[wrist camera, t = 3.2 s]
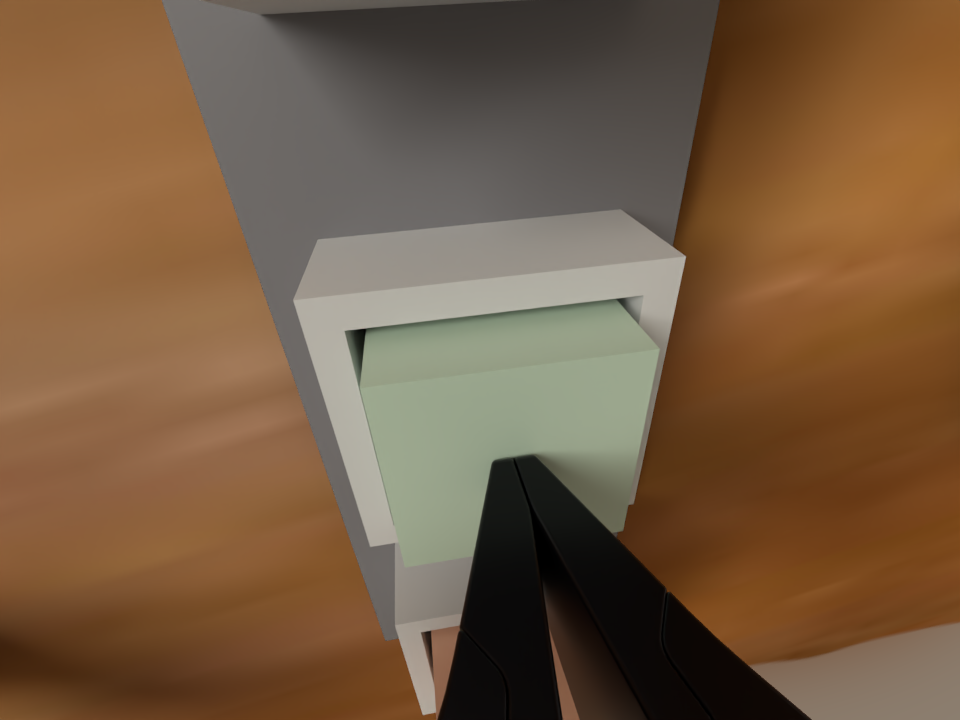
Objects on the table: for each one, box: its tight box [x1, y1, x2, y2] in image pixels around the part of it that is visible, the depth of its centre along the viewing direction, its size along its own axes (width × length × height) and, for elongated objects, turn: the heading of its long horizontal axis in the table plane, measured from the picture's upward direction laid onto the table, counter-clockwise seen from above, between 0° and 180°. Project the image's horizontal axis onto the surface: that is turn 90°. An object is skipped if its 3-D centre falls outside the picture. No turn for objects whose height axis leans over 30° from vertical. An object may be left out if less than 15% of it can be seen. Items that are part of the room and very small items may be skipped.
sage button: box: [360, 299, 660, 568], centre depth 11 cm, size 5×5×4 cm
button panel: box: [162, 0, 720, 715], centre depth 12 cm, size 10×29×4 cm, turn 3°
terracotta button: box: [431, 625, 580, 720], centre depth 15 cm, size 5×5×4 cm
